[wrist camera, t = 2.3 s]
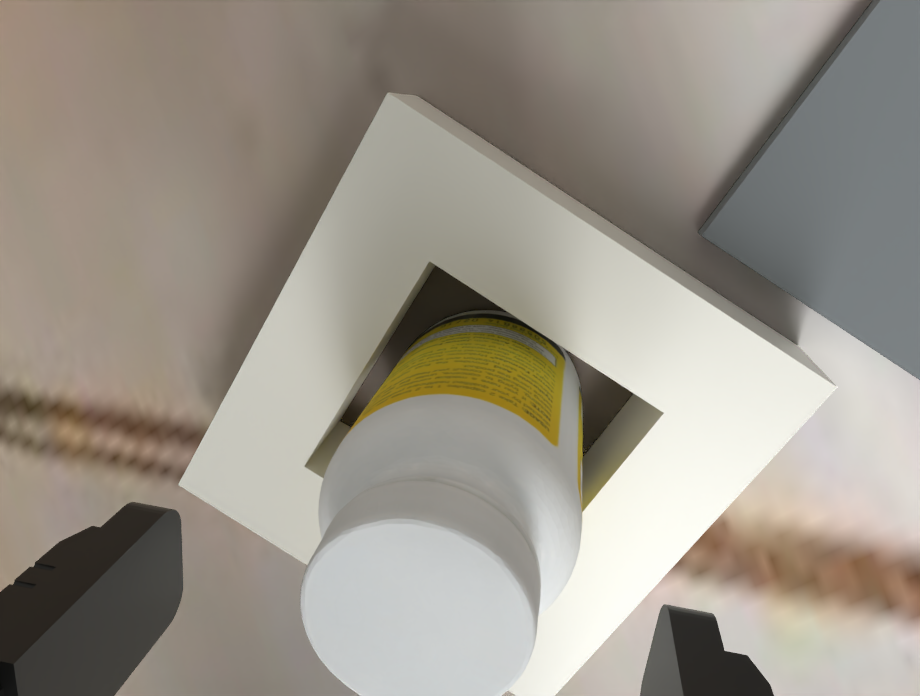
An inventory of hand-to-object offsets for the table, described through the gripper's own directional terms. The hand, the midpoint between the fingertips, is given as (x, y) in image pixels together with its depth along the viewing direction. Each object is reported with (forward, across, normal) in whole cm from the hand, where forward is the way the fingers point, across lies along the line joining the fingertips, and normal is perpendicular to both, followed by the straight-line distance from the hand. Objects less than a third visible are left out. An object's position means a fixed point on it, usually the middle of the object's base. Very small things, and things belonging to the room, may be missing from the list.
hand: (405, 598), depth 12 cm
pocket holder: (+10, 0, 0) cm, 10 cm away
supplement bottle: (+10, 0, 0) cm, 10 cm away
